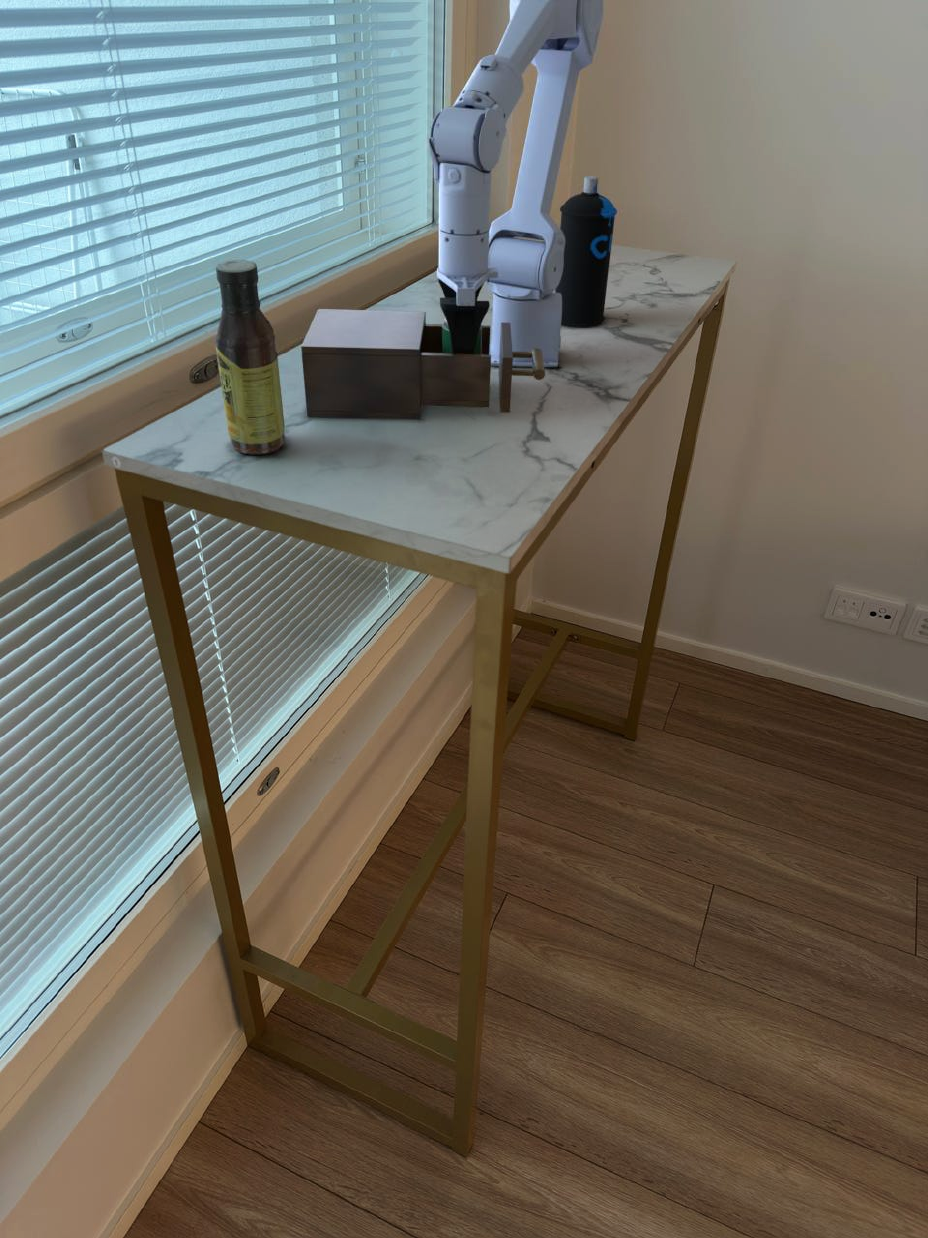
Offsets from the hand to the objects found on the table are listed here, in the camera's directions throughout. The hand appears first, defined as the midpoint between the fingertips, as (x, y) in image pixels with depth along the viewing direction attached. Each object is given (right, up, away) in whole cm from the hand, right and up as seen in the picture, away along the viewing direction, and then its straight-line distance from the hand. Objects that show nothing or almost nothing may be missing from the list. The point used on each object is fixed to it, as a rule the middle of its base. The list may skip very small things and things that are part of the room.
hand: (461, 347), depth 110 cm
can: (0, -4, +3) cm, 4 cm away
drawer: (+2, -5, +3) cm, 6 cm away
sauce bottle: (-23, -14, -8) cm, 28 cm away
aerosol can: (+18, +13, +30) cm, 37 cm away
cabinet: (-12, -5, +4) cm, 13 cm away
